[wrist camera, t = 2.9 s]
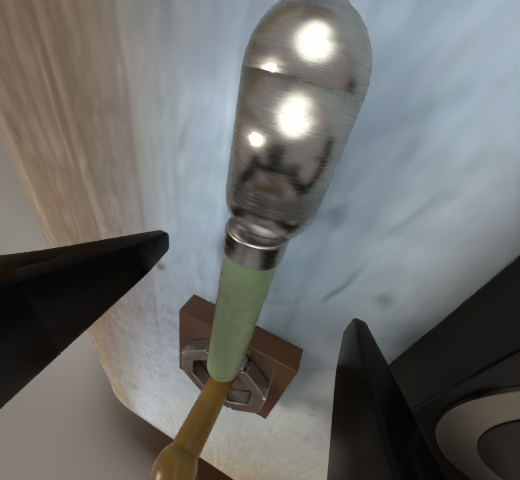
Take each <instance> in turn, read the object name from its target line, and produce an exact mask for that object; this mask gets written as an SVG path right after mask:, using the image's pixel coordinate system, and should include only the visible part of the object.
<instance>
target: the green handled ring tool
mask: <svg viewBox="0 0 520 480" xmlns="http://www.w3.org/2000/svg"><path fill="white" fill-rule="evenodd" d="M371 70H372V49H371V44H370V39H369V35H368V30H367V28H366V26H365V24H364V22H363V20H362V18H361V16H360V14H359V13H358V11H357V10H356V9H355V8H354V7H353V6H352V5H351V4H350V2H349V1H347V0H281V1H279V2H278V3H276V4H275V5H273V6H272V7H271V8H270V9H269V10H268V12H267V13H266V14H265V15H264V16H263V17H262V18H261V20H260V21H259V23H258V25H257V26H256V28H255V30H254V31H253V33H252V35H251V38H250V40H249V43H248V45H247V48H246V50H245V54H244V59H243V64H242V69H241V77H240V85H239V92H238V100H237V108H236V116H235V123H234V131H233V139H232V147H231V154H230V162H229V170H228V177H227V185H226V203H227V208H228V211H229V213H230V216H231V217H230V218H229V219H228V221H227V222H226V226H225V233H224V240H223V250H224V252H223V258H222V265H221V272H220V279H219V285H218V292H217V299H216V305H215V312H214V319H213V326H212V332H211V339H198V340H191V341H190V342H189V343H188V345H187V346H186V347H185V349H184V350H183V351H182V368H183V369H184V370H183V371H184V372H185V373H186V374H187V375H188V377H189V378H190V379H191V380H192V381H193V382H194V383H195V385H196V386H197V387H198V388H199V389H200V390H202V389H203V388H204V386H205V384H206V382H207V381H208V379H209V377H210V376H211V377H212V378H213V379H215V380H216V381H219V382H228V381H231V380H233V379H234V378H235V377H236V376H237V375H238V377H239V378H240V379H241V380H242V382H243V383H244V384H245V386H246V387H247V388H248V389H249V391H250V392H247V391H238V390H233V389H230V391H229V393H228V396H227V398H226V400H225V402H224V404H223V405H225V406H226V407H228V408H229V407H231V408H232V409H234V410H239V411H245V412H251V413H256V412H257V413H259V411H260V410H261V408H262V406H263V405H264V403H265V401H266V399H267V396H268V393H269V390H270V386H269V385H270V384H269V382H268V381H267V379H266V378H265V377H264V375H263V374H262V372H261V371H260V370H259V368H258V367H257V366H256V364H255V363H254V362H253V360H248V356H246V352H247V349H248V346H249V343H250V341H251V338H252V335H253V332H254V329H255V326H256V323H257V320H258V318H259V315H260V312H261V309H262V306H263V303H264V300H265V298H266V295H267V292H268V289H269V286H270V283H271V280H272V277H273V275H274V272H275V269H276V266H277V265H278V264H279V263H280V262H281V261H282V258H283V255H284V253H285V250H286V247H287V244H288V241H289V239H292V238H294V237H296V236H297V235H299V234H300V233H302V232H303V231H304V230H305V229H306V228H307V227H308V226H309V225H310V224H311V222H312V221H313V219H314V217H315V216H316V214H317V212H318V209H319V207H320V205H321V202H322V200H323V197H324V195H325V193H326V190H327V188H328V185H329V183H330V180H331V178H332V176H333V173H334V171H335V168H336V166H337V164H338V161H339V159H340V156H341V154H342V152H343V149H344V147H345V144H346V142H347V140H348V137H349V135H350V132H351V130H352V128H353V125H354V123H355V120H356V118H357V115H358V113H359V111H360V108H361V106H362V103H363V101H364V99H365V95H366V92H367V89H368V86H369V83H370V76H371ZM199 360H207V369H208V372H209V373H208V372H207V371H206V370H205V368H204V367H203V366H202V365H201V364H200V362H199Z"/></svg>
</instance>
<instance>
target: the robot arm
mask: <svg viewBox="0 0 520 480" xmlns="http://www.w3.org/2000/svg"><path fill="white" fill-rule="evenodd" d="M168 249H169V235H168V233H166V232H164V231H162V230H157V231H151V232H145V233H139V234H134V235H128V236H122V237H116V238H110V239H105V240H99V241H93V242H87V243H81V244H76V245H71V246H64V247H58V248H52V249H45V250H40V251H31V252H24V253H16V254H8V255H0V409H1V408H2V407H3V406H4V405H5V404H6V403H7V402H8V401H9V400H11V399H12V398H13V397H14V396H15V395H16V394H17V393H18V392H19V391H20V390H21V389H22V388H24V387H25V386H26V385H27V384H28V383H29V382H30V381H31V380H32V379H33V378H34V377H36V376H37V375H38V374H39V373H40V372H41V371H42V370H43V369H44V368H45V367H46V366H47V365H48V364H50V363H51V362H52V361H53V360H54V359H55V358H56V357H57V356H58V355H60V354H61V352H63V350H65V349H66V348H67V347H68V346H69V345H70V344H71V343H72V342H73V341H74V340H75V339H77V338H78V337H79V336H80V335H81V334H82V333H83V332H84V331H85V330H87V329H88V328H89V327H90V326H91V325H92V324H93V323H94V322H95V321H96V320H97V319H99V318H100V317H101V316H102V315H103V314H104V313H105V312H106V311H107V310H108V309H109V308H110V307H112V306H113V305H114V304H115V303H116V302H117V301H118V300H119V299H120V298H121V297H122V296H124V295H125V294H126V293H127V292H128V291H129V290H130V289H131V288H132V287H133V286H134V285H135V284H137V283H138V282H139V281H140V280H141V279H142V278H143V277H144V276H145V275H146V274H147V273H148V272H149V271H150V270H151V269H152V268H153V267H154V265H155V264H156V263H157V262H158V261H159V260H160V259H161V258H162V256H163V255H164V254H165V253H166V252H167V251H168ZM327 480H448V479H447V477H446V475H445V473H444V472H443V470H442V468H441V466H440V464H439V462H438V461H437V459H436V457H435V455H434V453H433V451H432V449H431V448H430V446H429V444H428V442H427V440H426V438H425V436H424V434H423V432H422V430H421V429H419V425H418V423H417V421H416V419H415V417H414V415H413V413H412V411H411V409H410V407H409V405H408V403H407V401H406V400H405V398H404V396H403V394H402V392H401V390H400V388H399V386H398V384H397V382H396V380H395V378H394V376H393V374H392V372H391V370H390V369H389V367H388V365H387V363H386V361H385V359H384V357H383V355H382V353H381V351H380V349H379V347H378V345H377V343H376V341H375V340H374V338H373V336H372V334H371V332H370V330H369V328H368V326H367V324H366V323H365V322H364V321H362V320H359V319H357V318H354V319H353V320H352V321H351V323H350V324H349V325H348V326H347V328H346V329H345V331H344V334H343V339H342V344H341V348H340V353H339V358H338V363H337V369H336V377H335V389H334V401H333V414H332V426H331V438H330V450H329V463H328V475H327Z"/></svg>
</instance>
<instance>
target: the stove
mask: <svg viewBox="0 0 520 480" xmlns="http://www.w3.org/2000/svg"><path fill="white" fill-rule="evenodd" d="M388 367H389V369H390V370H391V372H392V374H393V376H394V378H395V380H396V382H397V384H398V386H399V388H400V390H401V392H402V394H403V396H404V398H405V400H406V401H407V403H408V405H409V407H410V409H411V411H412V413H413V415H414V417H415V419H416V421H417V423H418V425H419V429H421V430H422V432H423V434H424V436H425V438H426V440H427V442H428V444H429V446H430V448H431V449H432V451H433V453H434V455H435V457H436V459H437V461H438V462H439V464H440V466H441V468H442V470H443V472H444V473H445V475H446V477H447V479H448V480H472V479H471V478H469V477H468V476H466V475H465V474H464V473H463V472H461V471H460V470H459V469H458V468H456V467H455V466H454V465H453V464H452V463H451V462H450V461H449V460H448V459H447V457H446V456H445V455H444V454H443V452H442V450H441V449H440V447H439V445H438V442H437V439H436V436H435V425H436V421H437V419H438V417H439V416H440V414H441V413H442V412H443V411H444V410H445V409H446V408H447V407H449V406H450V405H452V404H454V403H455V402H457V401H459V400H462V399H464V398H466V397H469V396H472V395H475V394H479V393H482V392H486V391H492V390H497V389H502V388H510V387H519V386H520V256H519V257H518V258H517V259H515V260H514V261H513V262H512V263H511V264H509V265H508V266H507V267H506V268H505V269H504V270H502V271H501V272H500V273H499V274H498V275H496V276H495V277H494V278H493V279H492V280H491V281H489V282H488V283H487V284H486V285H485V286H483V287H482V288H481V289H480V290H479V291H477V292H476V293H475V294H474V295H473V296H472V297H470V298H469V299H468V300H467V301H466V302H464V303H463V304H462V305H461V306H460V307H458V308H457V309H456V310H455V311H454V312H453V313H451V314H450V315H449V316H448V317H447V318H445V319H444V320H443V321H442V322H441V323H439V324H438V325H437V326H436V327H435V328H434V329H432V330H431V331H430V332H429V333H428V334H426V335H425V336H424V337H423V338H422V339H421V340H419V341H418V342H417V343H416V344H415V345H413V346H412V347H411V348H410V349H409V350H407V351H406V352H405V353H404V354H403V355H402V356H400V357H399V358H398V359H397V360H396V361H394V362H393V363H392V364H391V365H390V366H388Z"/></svg>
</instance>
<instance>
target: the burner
mask: <svg viewBox="0 0 520 480" xmlns="http://www.w3.org/2000/svg"><path fill="white" fill-rule="evenodd" d="M435 436H436V439H437V442H438V445H439V447H440V449H441V450H442V452H443V454H444V455H445V456H446V457H447V459H448V460H449V461H450V462H451V463H452V464H453V465H454V466H455V467H456V468H458V469H459V470H460V471H461V472H463V473H464V474H465V475H466V476H468V477H469V478H471V479H472V480H520V386H519V387H510V388H502V389H497V390H492V391H486V392H482V393H479V394H475V395H472V396H469V397H466V398H464V399H462V400H459V401H457V402H455V403H454V404H452V405H450V406H449V407H447V408H446V409H445V410H444V411H443V412H442V413H441V414H440V416H439V417H438V419H437V421H436V425H435Z"/></svg>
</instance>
